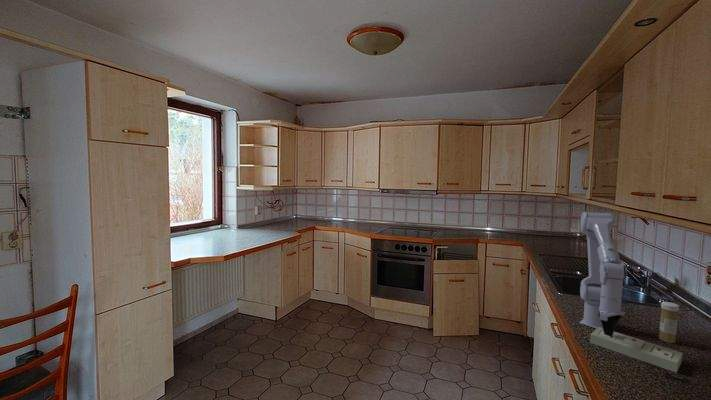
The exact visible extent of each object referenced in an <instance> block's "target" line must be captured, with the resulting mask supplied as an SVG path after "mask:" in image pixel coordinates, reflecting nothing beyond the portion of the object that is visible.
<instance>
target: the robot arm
mask: <svg viewBox="0 0 711 400" xmlns="http://www.w3.org/2000/svg"><path fill="white" fill-rule="evenodd" d="M614 224H615V217H614V214H613V213H612V212H588V211H584V212H583V211H582V213H581V215H580V231H581V234H583V235H585V236H586V237H585V238H586V240H587V241H586V243H587V244H586V245H587V246H586V247H587V259H588V260H587V262H588V264H587V265H588V266H587V267H588V276H587V277H585V278H583V279H582V280H581V281H580V287H579V295H580V298H581V299H582V301H584V304H583V305H584V306H583V307H584V308H583V318H582V320H580V321H579V324H581V325H584V326H587V327H591V328H593V329H595V330H596V329H597V328H598V327H601V328H603V331H604V334H606V335H609V336H612V335H613V333H614V332H615V330H616V326H617V324H618V322H619V321H620V319H622V316H625V314H626V312H625V311H622V298H623V296H622V295H623V284H624V283H623V282H624V281H625V280H627V277H628V269H627V267H626V266H627V265H626V264H625V263H624V261H623V260H621V259H620V255H619V252H618V247H617V246H616V245H614V244H613V243H612V237H611V231H612V230H613V227H614Z"/></svg>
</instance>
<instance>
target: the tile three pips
mask: <svg viewBox="0 0 711 400" xmlns="http://www.w3.org/2000/svg"><path fill="white" fill-rule="evenodd" d="M599 335H601V336H604V337H607V338H610V339H613V340H615V339H616V338H617V337H618V335H615V334H613V335H612V336H609V335H606V334H604V331H602V332H601V333H599Z"/></svg>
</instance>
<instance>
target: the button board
mask: <svg viewBox="0 0 711 400" xmlns="http://www.w3.org/2000/svg"><path fill="white" fill-rule="evenodd" d="M602 331H603V328H601V327H598V328H597V329H596V328H595V330H593V331H592V332H591V333H590V335H589V343H590V344H593V345H596V346H598V347H601V348H604V349H607V350H609V351H613V352H616V353H618V354H622V355H623V356H628V357H630V358H633V359H636V360H638V361H642V362H645V363H647V364H650V365H653V366H656V367H659V368H661V369H665V370H667V371H671V372H673V373H676V374H678V370H679V368H680V367H681V365H682V363H683V354H684V353H683V352H681V351H678V350H675V349H672V348H668V347H665V346H662V345H659V344H656V343H652V342H650V341H649V342H648V341H645V340H644V347H643V348H642V349H641V348H638V347H635V346H632V345H629V344H626V343H624V339H625V338H626V337H627V336H628V335H626V334H623V333H620V332H617V331H614V333H613V334H615V335H618V337H617V338H616V339H615V340H613V339H610V338H607V337H604V336H601V335H599V333H601V332H602ZM654 347H656V348H659V349H663V350H666V351H669V352H672V353H673V357H672V358H669V357H665V356H662V355H659V354H656V353H653V352H652V350H653V349H654Z"/></svg>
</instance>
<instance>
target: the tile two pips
mask: <svg viewBox="0 0 711 400" xmlns="http://www.w3.org/2000/svg"><path fill="white" fill-rule="evenodd" d="M652 352H653V353H656V354H659V355H662V356H665V357H669V358H672V357H673V353H672V352H669V351H666V350H663V349H659V348H656V347H654V349H653V350H652Z"/></svg>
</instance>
